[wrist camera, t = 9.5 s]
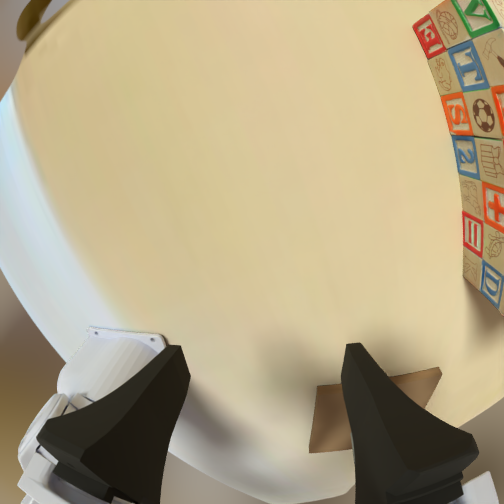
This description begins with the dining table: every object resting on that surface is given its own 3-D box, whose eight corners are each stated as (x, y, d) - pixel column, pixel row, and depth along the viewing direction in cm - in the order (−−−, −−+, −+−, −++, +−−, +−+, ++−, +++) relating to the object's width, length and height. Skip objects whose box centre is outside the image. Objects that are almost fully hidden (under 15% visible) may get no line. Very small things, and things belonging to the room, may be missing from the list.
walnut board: (309, 446, 29) (309, 453, 28) (317, 386, 24) (318, 394, 23) (403, 431, 27) (405, 438, 26) (438, 366, 22) (442, 374, 21)
